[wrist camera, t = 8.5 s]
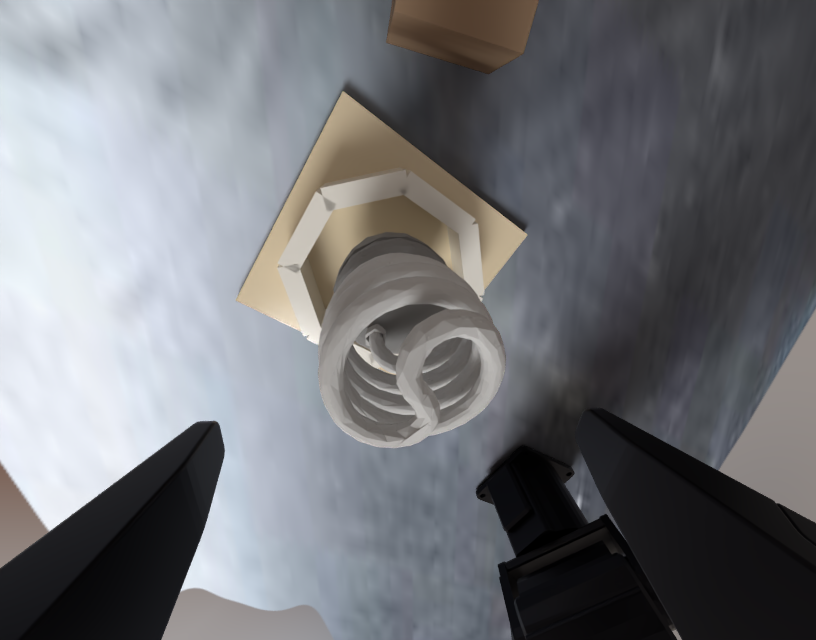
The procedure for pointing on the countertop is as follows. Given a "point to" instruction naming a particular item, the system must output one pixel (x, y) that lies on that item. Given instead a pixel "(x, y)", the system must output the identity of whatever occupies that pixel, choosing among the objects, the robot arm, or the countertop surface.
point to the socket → (368, 220)
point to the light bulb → (405, 345)
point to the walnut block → (463, 30)
